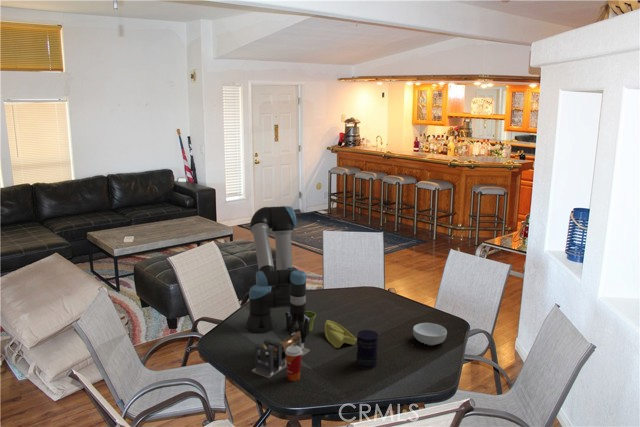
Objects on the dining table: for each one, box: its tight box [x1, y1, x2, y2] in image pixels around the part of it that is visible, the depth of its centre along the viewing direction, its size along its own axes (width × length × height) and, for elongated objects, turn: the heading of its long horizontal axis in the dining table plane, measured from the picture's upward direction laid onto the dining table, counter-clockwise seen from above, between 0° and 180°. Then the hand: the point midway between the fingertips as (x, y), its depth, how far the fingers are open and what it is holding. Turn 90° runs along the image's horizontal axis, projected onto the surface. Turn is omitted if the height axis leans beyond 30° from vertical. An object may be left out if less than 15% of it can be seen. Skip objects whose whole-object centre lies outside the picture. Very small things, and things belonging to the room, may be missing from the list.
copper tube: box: [271, 330, 301, 356], centre depth 263 cm, size 20×5×5 cm, turn 146°
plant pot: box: [304, 310, 317, 332], centre depth 294 cm, size 9×9×9 cm
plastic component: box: [324, 319, 357, 349], centre depth 284 cm, size 20×7×10 cm
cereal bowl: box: [412, 322, 448, 346], centre depth 283 cm, size 17×17×7 cm
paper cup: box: [285, 345, 303, 382], centre depth 244 cm, size 8×8×14 cm
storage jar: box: [356, 329, 379, 370], centre depth 258 cm, size 10×10×15 cm
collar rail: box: [251, 338, 311, 379], centre depth 259 cm, size 32×10×13 cm, turn 146°
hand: (297, 347), depth 271 cm, fingers closed on copper tube, 4 cm apart
